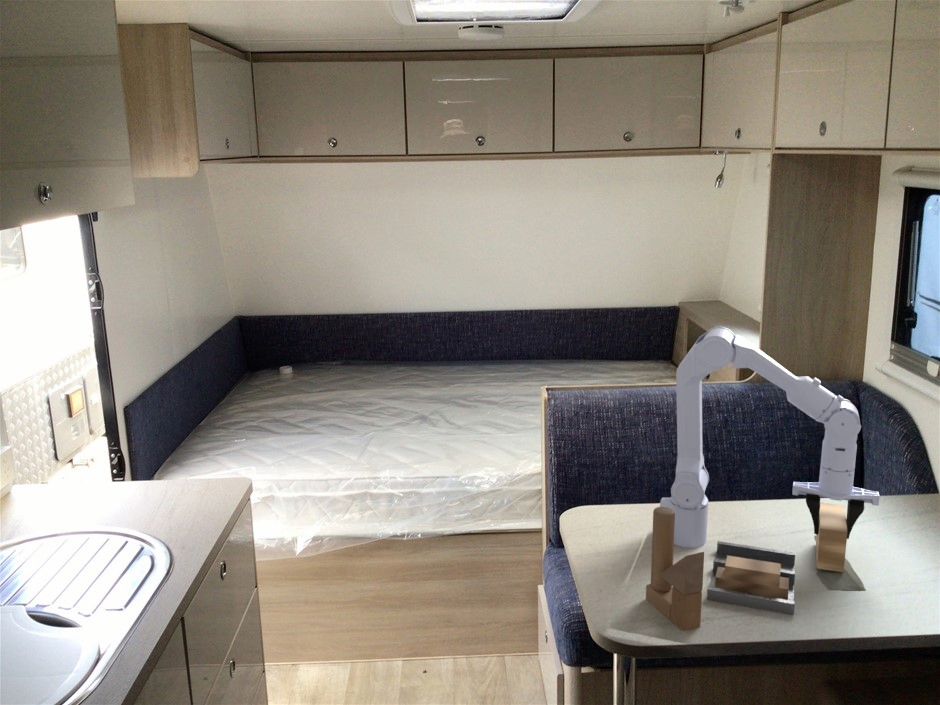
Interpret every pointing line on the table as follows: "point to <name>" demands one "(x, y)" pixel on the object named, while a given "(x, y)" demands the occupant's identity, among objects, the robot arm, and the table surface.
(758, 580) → the walnut offcut upper
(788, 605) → the rack
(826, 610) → the table surface
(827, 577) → the stone slab
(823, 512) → the oak board
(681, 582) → the wooden block
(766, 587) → the walnut offcut lower
